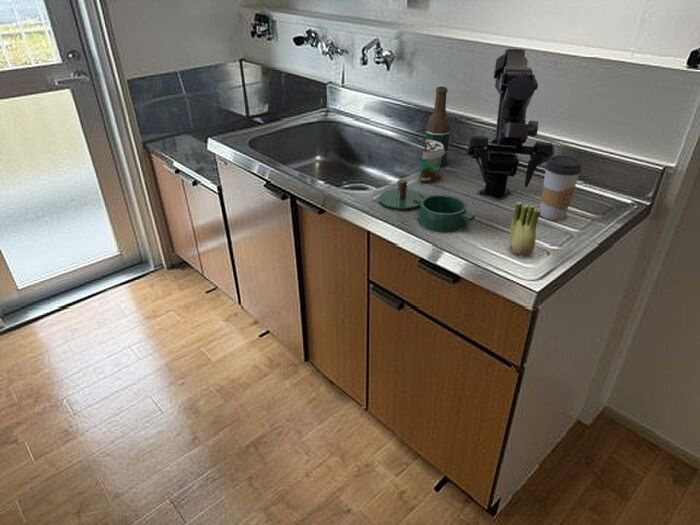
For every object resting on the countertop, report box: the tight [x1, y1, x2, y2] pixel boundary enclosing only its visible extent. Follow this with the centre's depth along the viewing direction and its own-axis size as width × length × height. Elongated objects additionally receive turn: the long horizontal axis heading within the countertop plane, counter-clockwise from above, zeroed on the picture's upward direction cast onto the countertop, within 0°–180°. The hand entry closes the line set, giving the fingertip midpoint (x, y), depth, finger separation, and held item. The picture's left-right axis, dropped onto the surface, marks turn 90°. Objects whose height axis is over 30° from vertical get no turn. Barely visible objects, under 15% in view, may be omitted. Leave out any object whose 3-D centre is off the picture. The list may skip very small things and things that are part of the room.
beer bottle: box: [425, 86, 451, 168], centre depth 155 cm, size 8×8×24 cm
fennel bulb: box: [509, 201, 541, 257], centre depth 110 cm, size 6×5×12 cm
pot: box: [413, 194, 476, 233], centre depth 125 cm, size 11×17×5 cm
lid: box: [378, 178, 425, 210], centre depth 135 cm, size 12×12×6 cm
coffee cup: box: [539, 154, 582, 221], centre depth 126 cm, size 8×8×15 cm
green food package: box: [420, 138, 445, 184], centre depth 149 cm, size 12×6×10 cm, turn 168°
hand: (505, 184), depth 114 cm, fingers open, 9 cm apart
